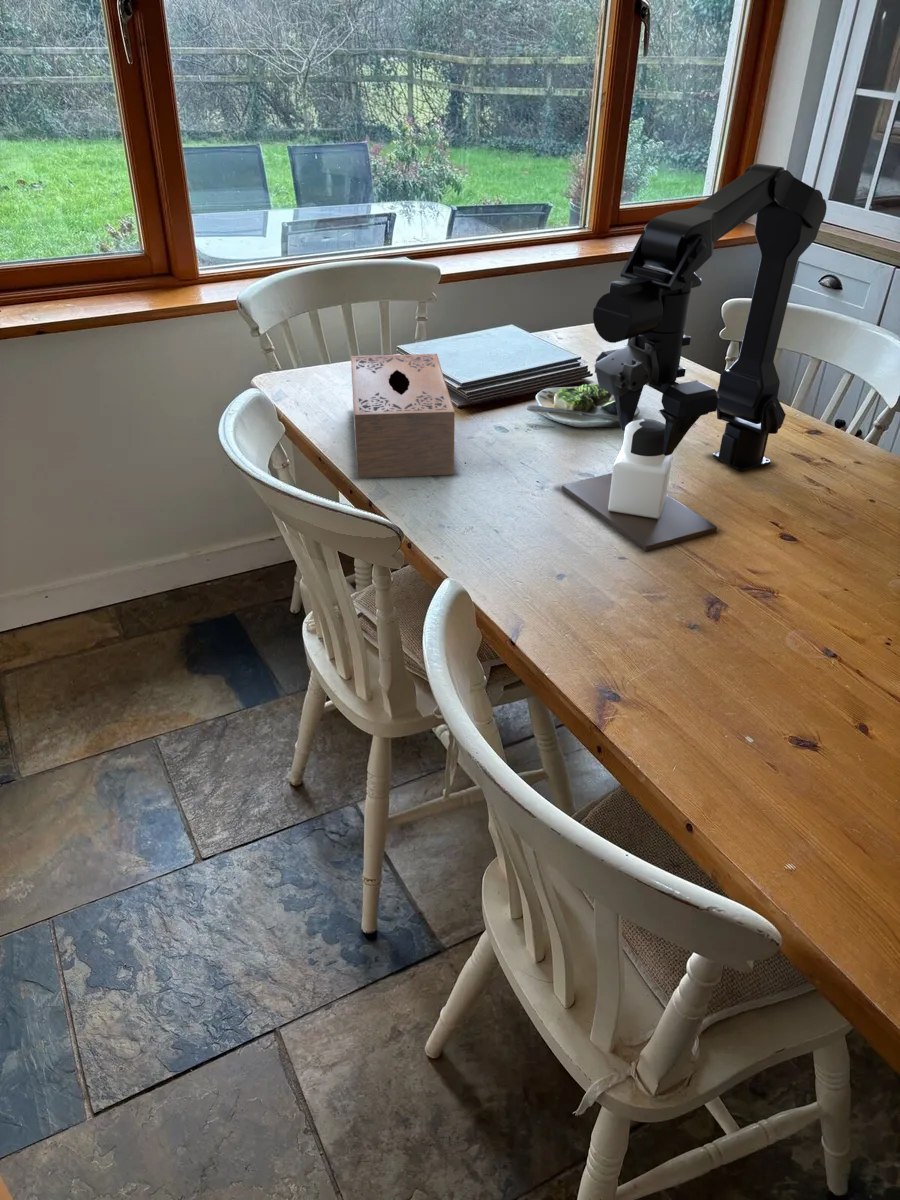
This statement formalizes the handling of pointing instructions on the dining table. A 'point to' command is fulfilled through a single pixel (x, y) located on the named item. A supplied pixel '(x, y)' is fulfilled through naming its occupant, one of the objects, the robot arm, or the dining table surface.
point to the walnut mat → (640, 530)
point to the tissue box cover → (402, 416)
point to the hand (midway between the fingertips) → (645, 442)
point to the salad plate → (578, 406)
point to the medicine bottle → (641, 471)
